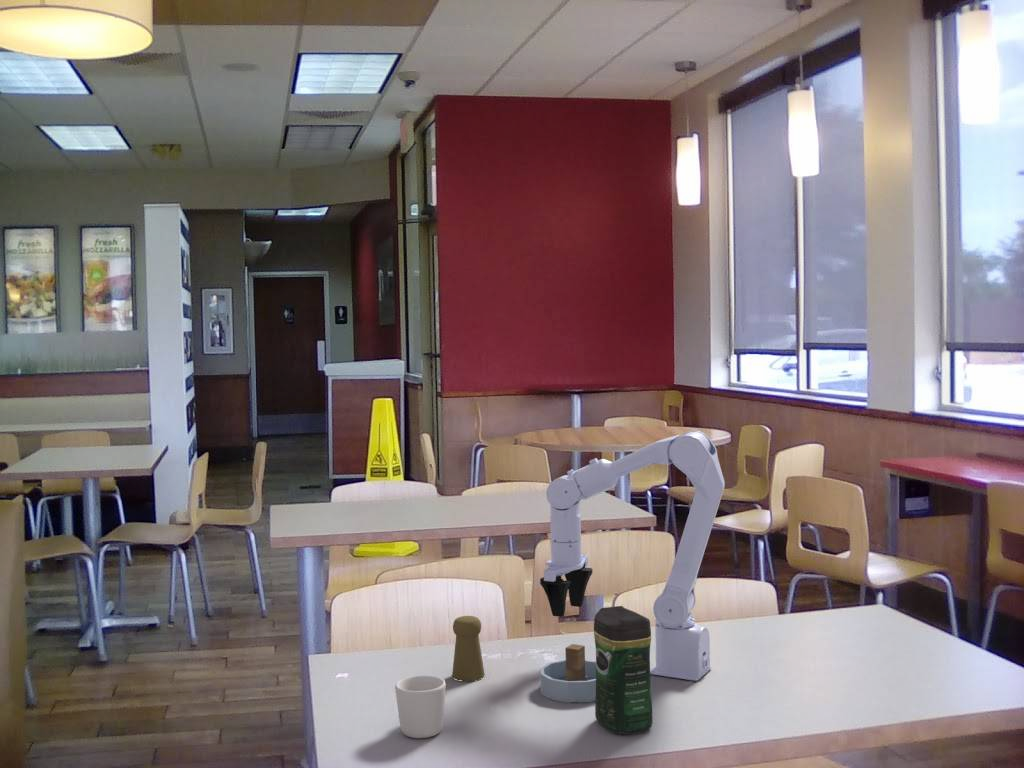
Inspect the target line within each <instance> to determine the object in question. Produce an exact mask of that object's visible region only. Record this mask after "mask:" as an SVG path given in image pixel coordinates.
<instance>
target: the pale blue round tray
mask: <svg viewBox="0 0 1024 768" xmlns="http://www.w3.org/2000/svg"><path fill="white" fill-rule="evenodd" d="M539 671H540V693H541V695H542V696H544V697H546V698H547V697H548V698H547V699H549V698H550V699H549V700H551V699H553V700H552V701H556V700H557V701H556V702H562V701H563V703H567V702H568V704H569V703H570V702H578V703H591V702H595V698H596V660H590V659H589V660H588V659H585V681H566V659H561V660H557V661H552V662H548V663H547V664H545V665H544V666H542V667H540V669H539ZM570 704H571V703H570Z"/></svg>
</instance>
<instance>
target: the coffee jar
mask: <svg viewBox="0 0 1024 768" xmlns="http://www.w3.org/2000/svg"><path fill="white" fill-rule="evenodd" d="M651 629H652V628H651V621H650V619H649V618H647V617H645V616H644V615H641V614H640V613H637V612H636V611H632V610H631V609H629V608H625V606H623V605H619V606H618V605H617V606H616V605H615V606H608V607H602V608H600V609H599V610H598V611H597V612H596V614H595V615H594V620H593V637H594V638H593V639H594V643H595V661H596V698H595V701H594V702H595V703H594V704H595V705H594V706H595V707H594V708H595V711H594V712H595V713H594V715H595V716H594V717H595V719H596V721H597V722H598V723H599V724H600V725H601V726H602V727H603V728H605V729H606V730H607V731H609V732H612V733H614V734H629V735H638V734H641V733H643V732H644V731H647V730H649V729H651V728H652V727H653V723H654V722H653V700H652V698H653V697H652V685H651V674H650V669H651V657H650V656H651V655H650V654H651V653H650V652H651V642H652V630H651Z"/></svg>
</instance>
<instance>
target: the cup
mask: <svg viewBox="0 0 1024 768" xmlns="http://www.w3.org/2000/svg"><path fill="white" fill-rule="evenodd" d="M394 687H395V688H394V689H395V695H396V696H395V697H396V705H397V706H396V707H397V710H398V719H399V726H400V729H401V732H402V733H403V734H404V735H405V736H407V737H410V738H413V739H426V738H431V737H434V736H436V735H437V734H439V733H440V732H441V730H442V728H443V724H444V714H445V703H446V702H445V701H446V687H447V683H446V681H445V679H443V678H441V677H439V676H435V675H429V674H428V675H426V674H425V675H412V676H408V677H405V678H402V679H400V680H398V681H397V682H396V683H395V686H394Z"/></svg>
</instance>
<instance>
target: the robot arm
mask: <svg viewBox="0 0 1024 768" xmlns="http://www.w3.org/2000/svg"><path fill="white" fill-rule="evenodd" d="M718 457H719V456H718V450H717V448H716V446H715V445H714V444H713V442H712V440H711V439H710V438H709V437H708V436H707V434H706V433H704V432H702V431H699V430H690V431H686V432H685V433H683V434H682V435H680V434H678V435H677V434H676V435H672V436H670V437H666V438H662V439H659V440H657V441H655V442H652V443H651V444H648V445H646V446H644V447H642V448H640V449H637V450H635V451H633V452H631V453H629V454H627V455H625V456H623V457H621V458H618V459H617V460H615V461H610V460H608V459H606V458H601V459H599V460H598V458H596V457H595V458H593V459H590V460H589V462H588V463H589V464H587V465H585V466H583V467H581V468H579V469H576V470H574V469H573V468H572V469H570V470H568V471H567V472H566V473H567V474H565V475H562V476H560V477H557V478H555V479H554V480H552V481H551V482H550V483H549V484H548V486H547V488H546V491H545V495H546V500H547V501H548V503H549V504H550V516H549V517H550V519H549V520H550V524H549V525H550V555H551V558H550V559H549V560H547V561H545V565H546V566H547V568H546V569H544V570H543V577H541V578H540V579H539V584H540V586H541V587H542V589H543V591H544V592H545V595H546V597H547V599H548V603H549V604H548V605H549V606H550V607H549V608H550V611H551V615H552V616H553V617H559V618H562V617H564V616H565V614H566V613H565V612H566V606H567V605H566V603H567V602H566V601H567V600H566V599H567V594H568V598H569V604H570V606H571V607H577V608H581V607H583V605H584V604H583V603H584V599H585V594H586V589H587V586H588V584H589V581H590V578H591V577H592V575H593V568H592V567H588V566H589V556H588V555H584V554H582V527H581V526H582V523H581V521H582V519H581V517H582V516H581V502H580V501H582V500H584V501H585V500H588V499H590V498H593V497H595V496H597V495H600V494H602V493H605V492H606V491H610V490H611V489H613V488H615V487H616V486H617V484H618V481H619V478H621V477H624V476H627V475H629V474H631V473H634V472H636V471H639V470H640V469H641V470H642V469H644V468H646V467H648V466H651V465H653V464H659V465H663V466H670V465H671V464H673V465H674V466H675V467H676V468H677V469H678V470H680V471H681V472H682V473H683V474H684V475H686V476H687V478H688V480H689V481H690V483H691V484H692V487H694V489H695V493H694V496H693V500H692V503H691V507H690V509H689V513H688V516H687V519H686V522H685V525H684V529H683V532H682V535H681V538H680V542H679V544H678V548H677V551H676V555H675V558H674V559H673V564H672V568H671V571H670V573H669V576H668V578H667V580H666V582H665V586H664V588H663V590H662V592H661V593H660V594H659V596H658V597H656V599H655V600H654V603H653V607H652V608H653V609H652V610H653V611H652V612H653V615H654V617H655V620H654V623H655V625H654V626H655V628H654V629H655V665H654V666H652V667H650V675H654V676H662V677H668V678H674V679H680V680H681V679H682V680H688V681H695V682H697V681H699V680H700V679H701V678H702V677H704V675H706V674H707V673H708V672H709V671H710V670H712V666H711V658H710V657H711V656H710V655H711V652H710V650H711V648H710V644H711V643H710V633H709V629H708V628H707V627H706V626H701V625H699V624H697V623H696V619H695V618H694V616H693V614H692V613H691V611H692V610H693V609H694V607H695V605H696V594H695V589H696V588H695V587H696V584H697V580H698V579H697V577H698V573H699V570H700V567H701V564H702V561H703V558H704V554H705V550H706V548H707V545H708V541H709V538H710V535H711V531H712V528H713V525H714V522H715V519H716V517H717V512H718V510H719V506H720V503H721V499H722V497H723V493H724V490H725V488H726V487H725V486H726V482H725V478H724V476H723V475H724V474H723V472H722V468H721V464H720V461H719V458H718ZM562 576H564V578H565V580H564V578H562Z"/></svg>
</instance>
